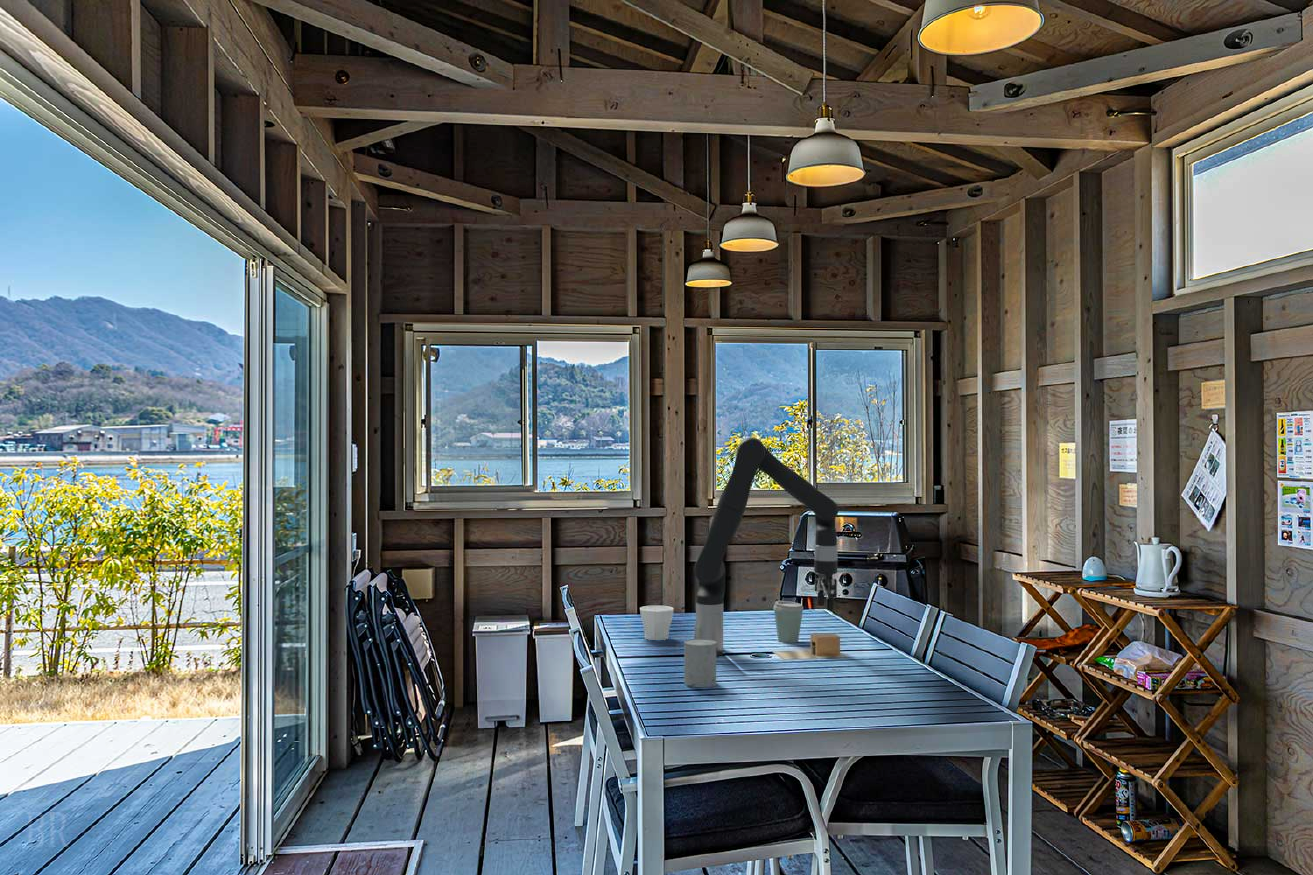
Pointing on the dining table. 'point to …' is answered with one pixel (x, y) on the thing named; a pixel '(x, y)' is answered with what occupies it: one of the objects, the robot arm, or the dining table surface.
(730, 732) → the dining table surface
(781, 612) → the disposable coffee cup
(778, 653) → the board
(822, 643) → the cardboard box
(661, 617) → the cup
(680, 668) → the dining table surface
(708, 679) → the grey cylinder
